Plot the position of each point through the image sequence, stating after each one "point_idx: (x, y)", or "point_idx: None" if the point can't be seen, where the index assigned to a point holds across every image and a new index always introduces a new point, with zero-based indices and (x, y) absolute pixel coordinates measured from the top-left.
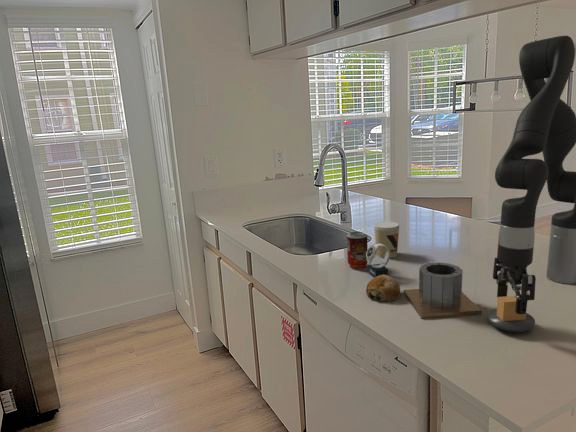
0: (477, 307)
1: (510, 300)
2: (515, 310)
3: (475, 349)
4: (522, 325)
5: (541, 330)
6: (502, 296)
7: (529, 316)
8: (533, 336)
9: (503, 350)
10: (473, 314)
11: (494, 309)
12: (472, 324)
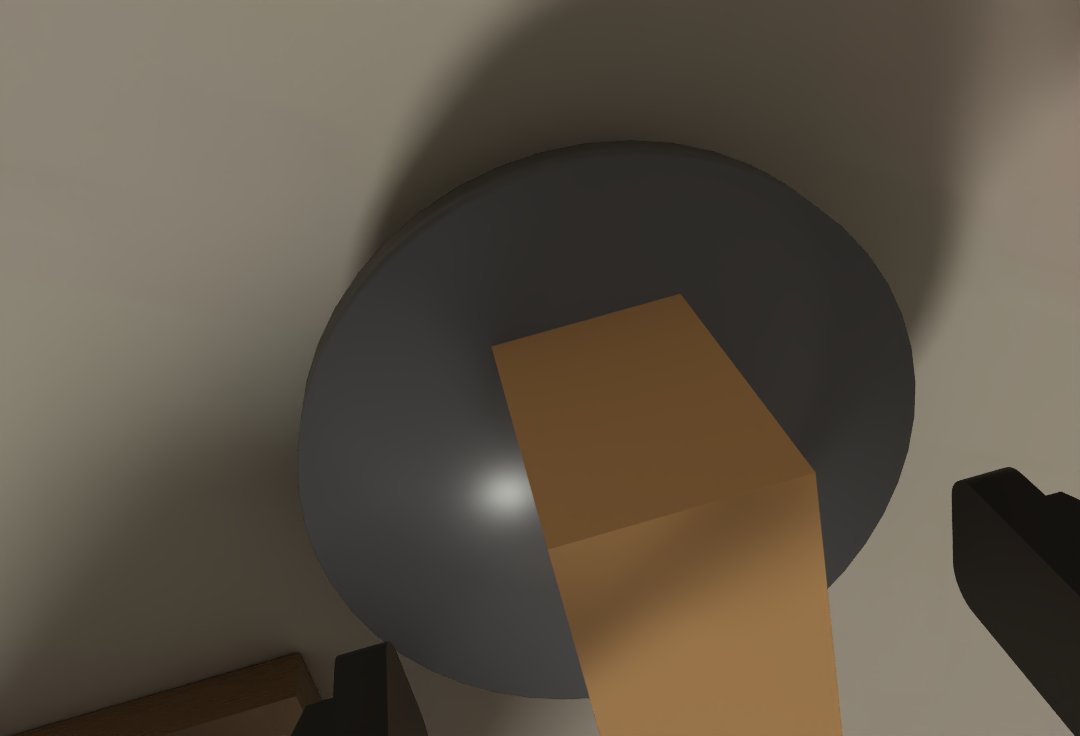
0: (216, 729)
1: (785, 719)
2: (981, 620)
3: (1020, 722)
4: (857, 372)
5: (685, 24)
6: (409, 726)
7: (572, 207)
8: (841, 186)
9: None
10: None
11: (382, 622)
12: (566, 730)
